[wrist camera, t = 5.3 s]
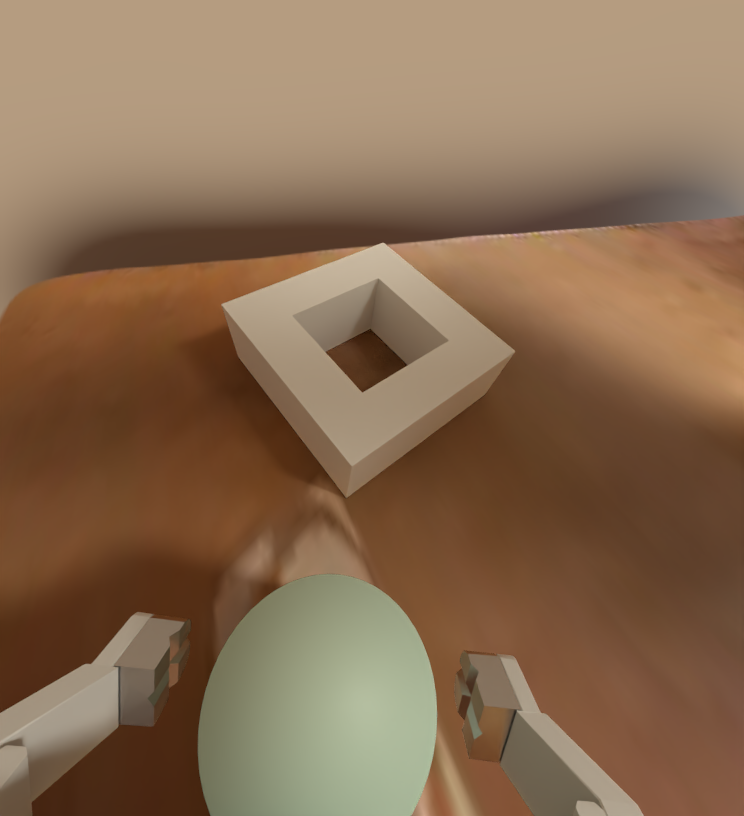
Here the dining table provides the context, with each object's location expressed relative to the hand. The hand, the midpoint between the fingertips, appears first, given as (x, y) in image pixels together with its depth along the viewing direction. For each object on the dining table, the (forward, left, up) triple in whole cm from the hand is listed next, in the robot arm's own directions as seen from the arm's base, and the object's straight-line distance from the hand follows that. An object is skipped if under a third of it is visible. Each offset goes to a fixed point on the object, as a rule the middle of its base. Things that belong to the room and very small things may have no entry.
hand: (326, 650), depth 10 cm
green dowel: (0, 0, -6) cm, 6 cm away
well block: (-11, -11, -6) cm, 16 cm away
